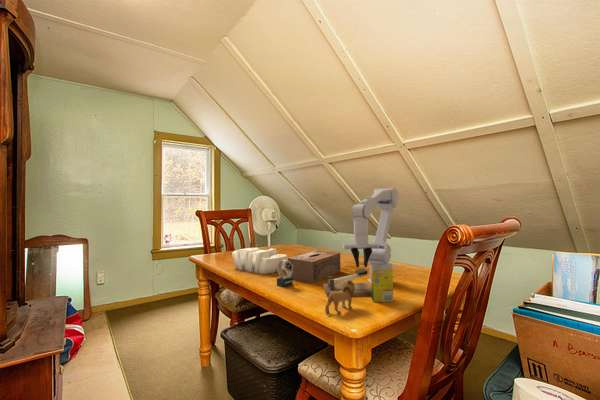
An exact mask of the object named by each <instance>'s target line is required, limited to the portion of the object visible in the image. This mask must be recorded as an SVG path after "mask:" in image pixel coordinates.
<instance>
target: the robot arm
mask: <svg viewBox="0 0 600 400" xmlns="http://www.w3.org/2000/svg"><path fill="white" fill-rule="evenodd" d="M398 199H399V192H398V190H397V188H396V187H389V188H375V189H374V190H373V194H372V195H371V196H370V195H369V196H367V195H366V196H365V197H364V199H363V200H361V201H360V202H358V204H357V203H356V204H354V205H352V207H351V209H350V216H351V218H352V219H351V221H352V222H353V243H343V244H342V249H343V250H346V251H347V250H350V251H351V254H352V257H353V258H354V262H355V266H356V268H360V261H359V260H360V259H359V258H360V251H359V250H363V267H364V268H367V267H368V263H369V276H370V277H369V278H367V279H366V280H367V281H368V282H369V283H370V284H371V285H372V282H371V274H373V270H392V275H393V273H394V271H393V266H392V263H391V262H390V261H391V256H392V254H391V253H392V252H391V250H392V248H391V245H389V244H388V243H387V240H388V234H389V230H390V225H391V220H392V215H393V210H394V209H395V208H396V207H397V204H398ZM376 207H377V208H379V209H381V211H380V216H379V220H378V224H377V229H376V233H375V238H374V240H373V241H371V242H369V218H370V217H371V213H372V211H373V210H374V209H375V208H376ZM379 273H387V272H384V271H382V272H379ZM393 276H394V275H393ZM393 285H394V282H393Z"/></svg>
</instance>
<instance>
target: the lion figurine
mask: <svg viewBox="0 0 600 400" xmlns="http://www.w3.org/2000/svg"><path fill="white" fill-rule="evenodd" d="M343 283H344V286H343V290H341V291H339V292H335V291H334V292H331V293H330V294H329V297H327V303H326V304H325V308H324V309H325V312H324V313H326V315H327V316H328V315H329V314H330V305H331V304H332V303H333V305H334V311H335V312H336V314H342V312H341V310H339V303H341V307H342V308H346V303H345V302H346V301H347V303H348V304H347V307H348V309H351V310H352V309H353V307H352V298H354V297H355V296H354V291H355V290H354V288H355V287H354V283H355V282H353V280H352V279H350V280H346V281H343Z"/></svg>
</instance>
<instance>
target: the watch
mask: <svg viewBox="0 0 600 400" xmlns="http://www.w3.org/2000/svg"><path fill="white" fill-rule="evenodd" d="M282 262H283V266H282V267H281V264H282ZM277 270H278V272H277V273H278V275H279V276H280V277H279V276H278V277H276V286H277V287H280V288H286V287H289V286H292V285H293V283H294V282H293V281H294V279H293V278H292V277H290V276H291V275H292V273H293V264H292V263H291V262H290V261H288V259H286V260H281V261H279V262H278V265H277ZM284 272H286V273H284ZM285 274H287V275H285Z"/></svg>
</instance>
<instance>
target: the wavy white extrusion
mask: <svg viewBox="0 0 600 400" xmlns="http://www.w3.org/2000/svg"><path fill="white" fill-rule="evenodd" d="M231 257H232V261H233V265H234V268H235V269H234V270H239V271H245V272H248V273H255V274H260V275H266V274H267V275H268V274H272V273H278V270H277V265H278V262H279V261H281V260H287V259H288V255H287V254H284V253H283V254H277V249H276V248H269V249H267V250H265V249H260V248H259V247H248V248H241V249H236V250H234V251H232V253H231ZM281 267H282V268H283V262H282V264H281Z"/></svg>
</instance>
